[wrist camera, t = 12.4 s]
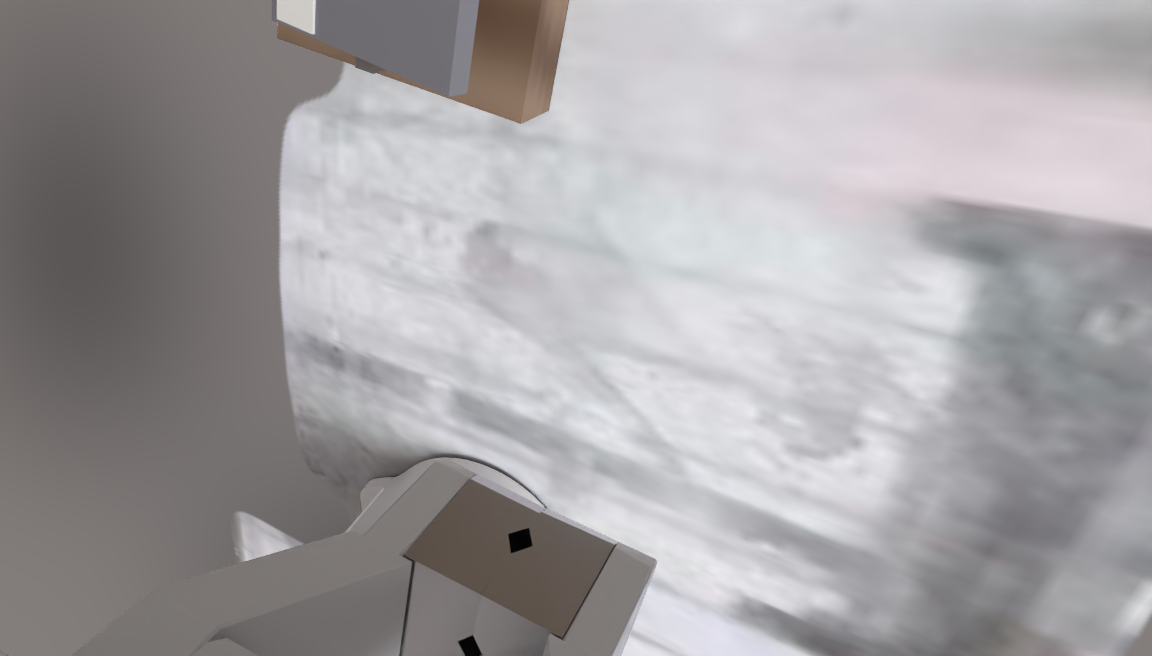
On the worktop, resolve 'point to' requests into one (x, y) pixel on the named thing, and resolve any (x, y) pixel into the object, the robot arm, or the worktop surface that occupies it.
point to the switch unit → (492, 57)
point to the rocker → (394, 35)
